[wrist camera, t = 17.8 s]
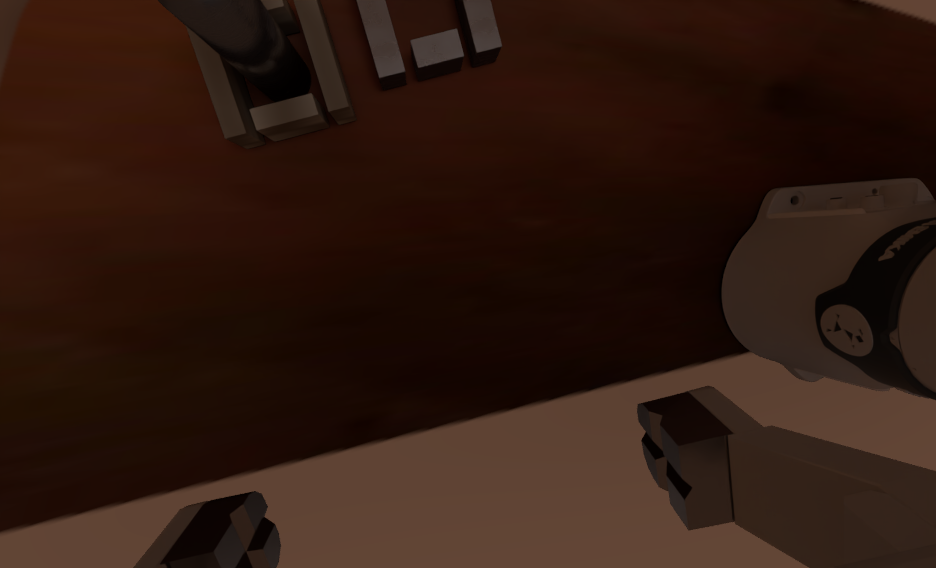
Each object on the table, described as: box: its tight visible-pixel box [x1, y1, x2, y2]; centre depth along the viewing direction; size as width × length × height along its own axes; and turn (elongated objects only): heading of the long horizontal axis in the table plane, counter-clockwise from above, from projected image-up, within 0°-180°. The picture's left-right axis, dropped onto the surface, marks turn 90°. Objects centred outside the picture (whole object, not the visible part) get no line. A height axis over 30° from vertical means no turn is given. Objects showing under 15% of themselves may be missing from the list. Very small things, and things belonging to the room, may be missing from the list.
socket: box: [356, 0, 502, 90], centre depth 34 cm, size 10×10×3 cm
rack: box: [186, 0, 357, 149], centre depth 33 cm, size 9×9×4 cm
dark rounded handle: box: [158, 0, 311, 102], centre depth 28 cm, size 4×4×14 cm
